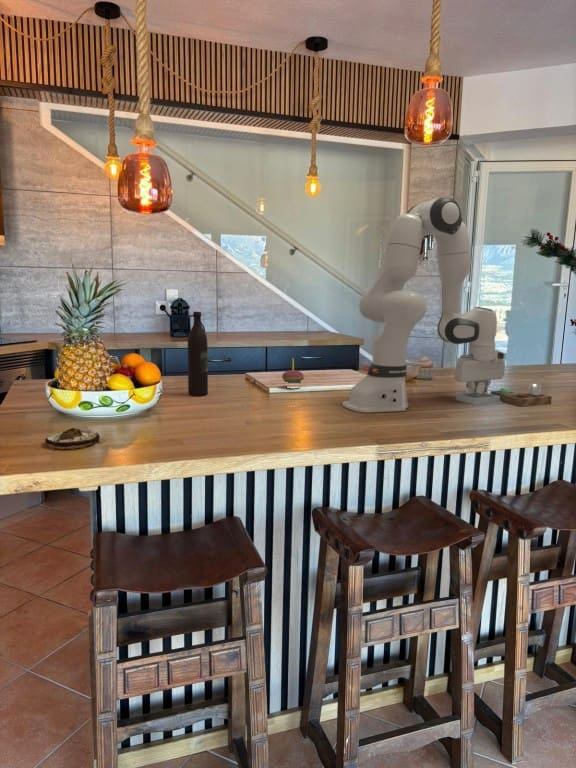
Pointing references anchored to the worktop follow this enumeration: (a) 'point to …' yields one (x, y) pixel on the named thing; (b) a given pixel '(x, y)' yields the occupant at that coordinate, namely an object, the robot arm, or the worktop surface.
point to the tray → (468, 398)
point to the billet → (479, 389)
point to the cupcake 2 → (426, 369)
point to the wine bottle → (197, 359)
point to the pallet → (526, 399)
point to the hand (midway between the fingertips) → (478, 392)
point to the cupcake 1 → (293, 375)
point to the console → (502, 393)
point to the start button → (505, 390)
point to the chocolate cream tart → (72, 439)
